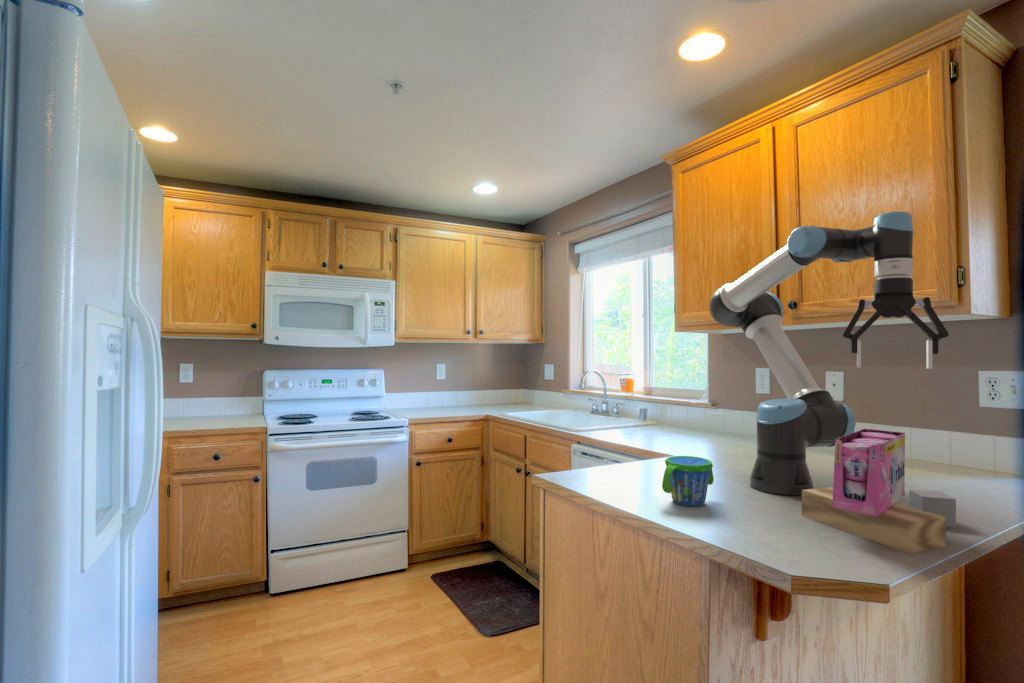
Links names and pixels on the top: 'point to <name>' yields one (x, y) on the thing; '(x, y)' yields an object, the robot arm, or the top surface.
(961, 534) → the top surface
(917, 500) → the grey block
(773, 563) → the top surface
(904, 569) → the top surface
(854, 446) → the gum box
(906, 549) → the oak block
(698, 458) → the snack cup
